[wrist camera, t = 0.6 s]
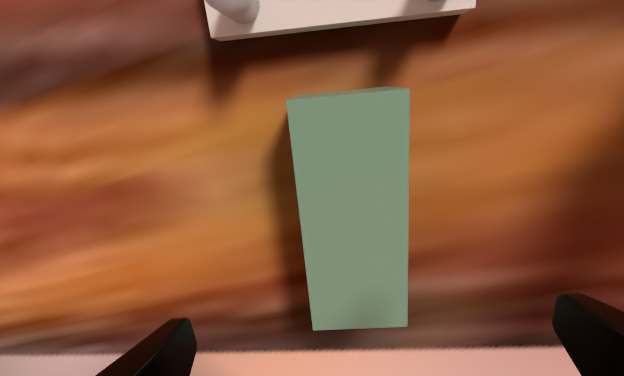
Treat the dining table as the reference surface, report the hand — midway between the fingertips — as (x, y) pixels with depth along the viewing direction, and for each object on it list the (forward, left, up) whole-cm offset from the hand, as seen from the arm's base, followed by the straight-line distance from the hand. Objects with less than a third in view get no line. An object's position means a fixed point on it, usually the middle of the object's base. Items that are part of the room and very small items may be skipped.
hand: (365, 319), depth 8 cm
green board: (0, +1, -11) cm, 11 cm away
